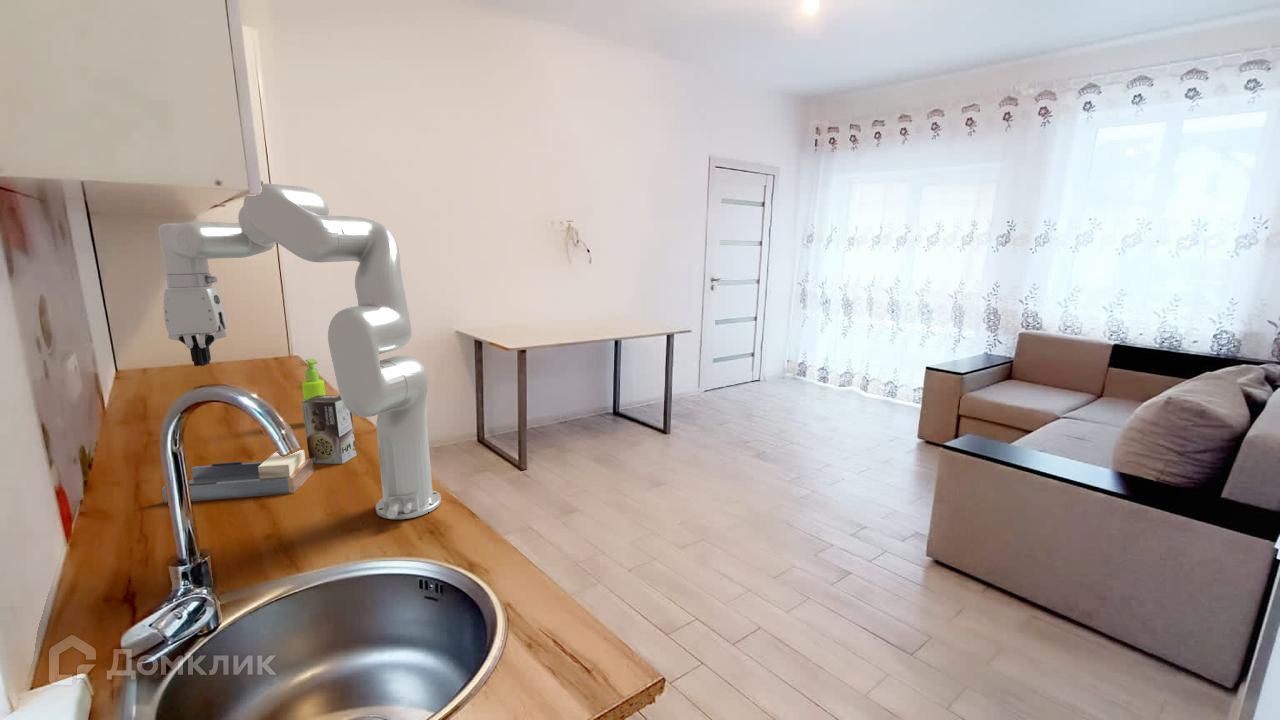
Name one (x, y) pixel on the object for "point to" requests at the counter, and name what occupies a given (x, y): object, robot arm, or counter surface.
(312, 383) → the soap dispenser
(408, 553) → the counter surface
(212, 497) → the grey shallow rectangular tray
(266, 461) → the block
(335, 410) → the coffee box
